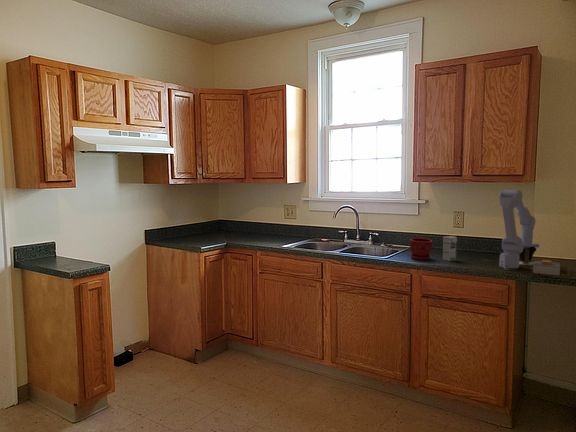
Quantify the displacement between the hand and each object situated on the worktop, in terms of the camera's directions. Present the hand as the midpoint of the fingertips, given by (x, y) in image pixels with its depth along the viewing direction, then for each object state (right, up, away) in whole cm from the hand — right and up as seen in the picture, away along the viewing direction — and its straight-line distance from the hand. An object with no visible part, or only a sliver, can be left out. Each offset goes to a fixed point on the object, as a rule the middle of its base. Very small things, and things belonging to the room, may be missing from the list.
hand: (525, 259), depth 253 cm
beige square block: (0, -3, 0) cm, 3 cm away
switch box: (+2, -5, -18) cm, 18 cm away
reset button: (+1, -2, -18) cm, 18 cm away
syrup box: (-38, -2, +15) cm, 41 cm away
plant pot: (-54, -1, +20) cm, 58 cm away
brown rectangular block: (0, -1, 0) cm, 1 cm away
